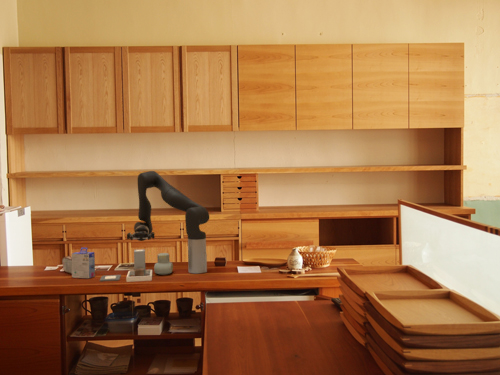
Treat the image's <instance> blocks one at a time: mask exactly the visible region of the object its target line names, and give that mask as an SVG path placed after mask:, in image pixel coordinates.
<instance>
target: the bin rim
mask: <svg viewBox="0 0 500 375" xmlns="http://www.w3.org/2000/svg"><path fill="white" fill-rule="evenodd" d="M145 272H146V275H145V276H135V273H134V270H128V272H127V275H126V278H125V280H126V283H133V282H151V281H152V280H153V269H145Z"/></svg>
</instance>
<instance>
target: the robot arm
mask: <svg viewBox="0 0 500 375" xmlns="http://www.w3.org/2000/svg"><path fill="white" fill-rule="evenodd" d="M151 188H156V189H158V190H159V191H160V196H161V199H162V201H164V203H166V204H168V206H170V207H171V208H174V209H176V210H178V211H179V210H180V211H182V212H185V216H184V217H185V218H184V219H185V232H186V235H187V255H188V256H187V257H188V258H187V262H188V263H187V265H188V266H187V267H188V268H187V269H188V273H189V274H204V273H208V266H207V265H208V262H207V261H208V259H207V258H208V257H207V256H208V255H207V234H206V232H205V231H203V230H201V229H200V225H204V224H207V223H208V222H209V221H210V214H209V211H208V209H207V208H206V207H204V206H203V205H201V204H199V203H198V202H196V201H194V200H192V199H191V198H189V197H188V196H186V195H185V194H184V193H183V192H181V191H180V190H178V188H176V187H175V186H173V185H171V184H170V183H169V182H168V181H167V180H165V179H164V178H163V177H162V176H161V175H160V174H159V173H158V172H156V171H155V170H149V171H144V172H141V173H139V174H138V176H137V194H138V214H137V215H138V216H137V217H138V220H139V221H136V223H135V224H134V226H133V231H134V232H133V233H131V232H127V233H126V239H127V240H130V241H133V240H137V241H140V242H143V241H146V240H151V239H153V240H154V239H155V232H154V231H153V224H152V218H151V216H152V204H151V202H150V200H149V198H148V196H147V191H148V190H147V189H151Z"/></svg>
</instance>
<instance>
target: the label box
mask: <svg viewBox="0 0 500 375" xmlns="http://www.w3.org/2000/svg"><path fill="white" fill-rule="evenodd" d="M133 263H134V265H133V266H134V269H133V271H134V273H135V269H138V268H144V276H147V275H146V272H145V270H146V249H145V248H144V249H134V251H133Z"/></svg>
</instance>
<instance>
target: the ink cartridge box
mask: <svg viewBox="0 0 500 375" xmlns="http://www.w3.org/2000/svg"><path fill="white" fill-rule="evenodd" d="M88 249H89V248H88V247H82V246H81V248H80V251H77V252H76V251H75V252H72V253H71V257H72V274H71V277H72V278H73V279H74V278H75V279H91V278H94V277H96V264H95V259H96V258H95V254H96V253H95V251H88Z"/></svg>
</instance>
